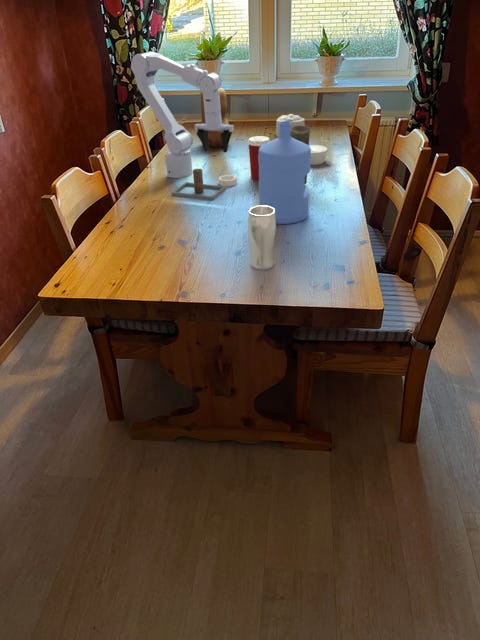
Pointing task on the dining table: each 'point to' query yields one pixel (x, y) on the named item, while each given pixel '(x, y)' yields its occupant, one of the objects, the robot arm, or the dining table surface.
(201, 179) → the dowel
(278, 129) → the lumpy-topped squat cylinder
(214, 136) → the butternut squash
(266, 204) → the water jug
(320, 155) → the ramekin
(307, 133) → the brown rounded cylinder
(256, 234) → the beer glass
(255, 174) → the coffee cup
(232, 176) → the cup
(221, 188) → the tray
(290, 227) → the dining table surface
